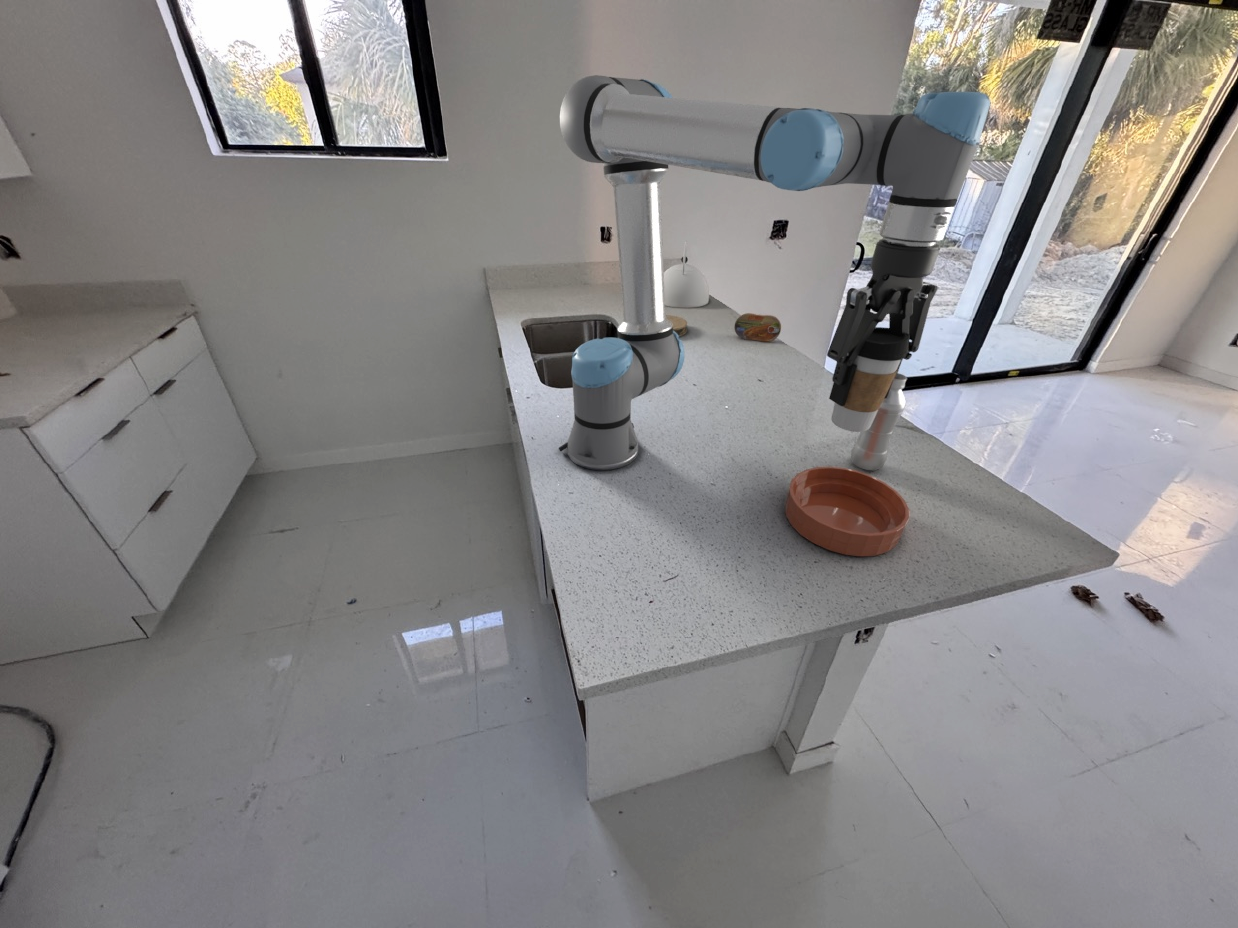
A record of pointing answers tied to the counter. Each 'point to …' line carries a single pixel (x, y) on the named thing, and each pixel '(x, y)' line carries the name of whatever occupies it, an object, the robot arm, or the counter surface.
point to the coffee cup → (871, 379)
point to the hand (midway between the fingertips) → (858, 398)
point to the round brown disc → (678, 324)
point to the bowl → (846, 511)
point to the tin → (757, 327)
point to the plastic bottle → (880, 429)
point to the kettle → (685, 285)
